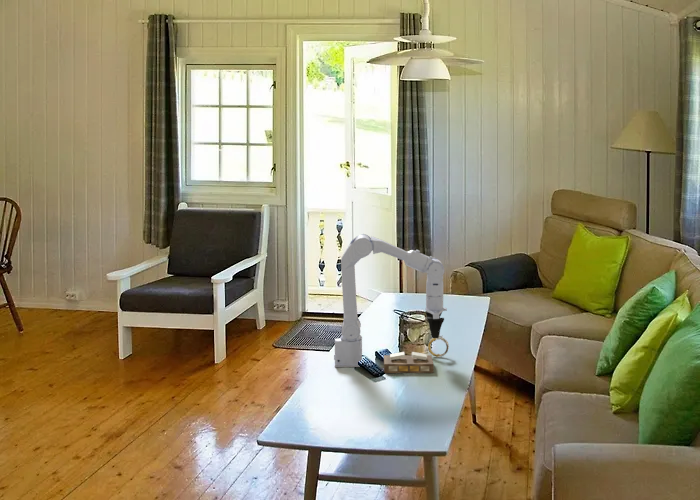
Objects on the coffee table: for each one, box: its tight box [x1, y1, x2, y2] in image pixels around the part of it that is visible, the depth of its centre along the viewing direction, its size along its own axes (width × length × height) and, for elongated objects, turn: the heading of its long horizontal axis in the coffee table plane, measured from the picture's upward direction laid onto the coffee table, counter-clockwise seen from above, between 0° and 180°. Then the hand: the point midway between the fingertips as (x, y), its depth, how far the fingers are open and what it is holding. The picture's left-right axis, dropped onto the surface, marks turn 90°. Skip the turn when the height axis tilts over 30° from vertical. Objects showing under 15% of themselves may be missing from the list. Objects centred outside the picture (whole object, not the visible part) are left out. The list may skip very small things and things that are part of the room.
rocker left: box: [389, 351, 406, 360], centre depth 278 cm, size 5×4×1 cm
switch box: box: [383, 354, 434, 374], centre depth 279 cm, size 16×10×4 cm, turn 89°
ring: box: [427, 333, 450, 358], centre depth 291 cm, size 7×3×8 cm, turn 74°
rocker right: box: [411, 351, 428, 360], centre depth 278 cm, size 5×4×1 cm
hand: (434, 334), depth 282 cm, fingers open, 7 cm apart
